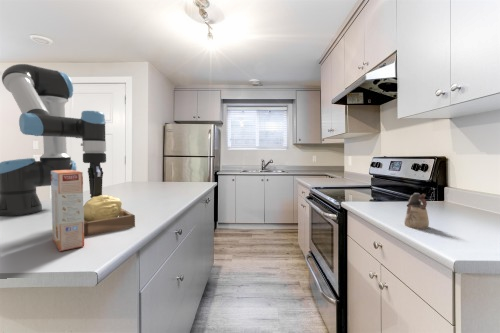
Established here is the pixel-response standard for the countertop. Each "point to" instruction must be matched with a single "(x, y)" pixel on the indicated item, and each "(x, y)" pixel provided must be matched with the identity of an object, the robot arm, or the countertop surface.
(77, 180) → the cracker box
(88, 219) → the sculpture
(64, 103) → the robot arm
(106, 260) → the countertop surface
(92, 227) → the frame
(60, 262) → the countertop surface
